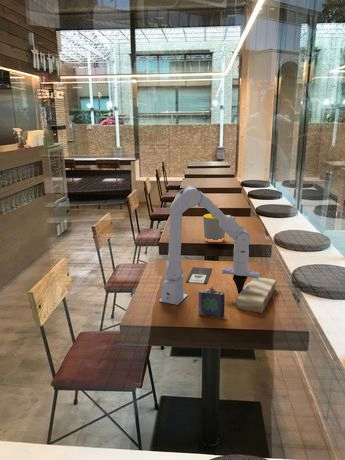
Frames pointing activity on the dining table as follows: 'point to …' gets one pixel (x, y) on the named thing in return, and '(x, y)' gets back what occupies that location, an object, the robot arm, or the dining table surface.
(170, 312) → the dining table surface
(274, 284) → the striped cream block
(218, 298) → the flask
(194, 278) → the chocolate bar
